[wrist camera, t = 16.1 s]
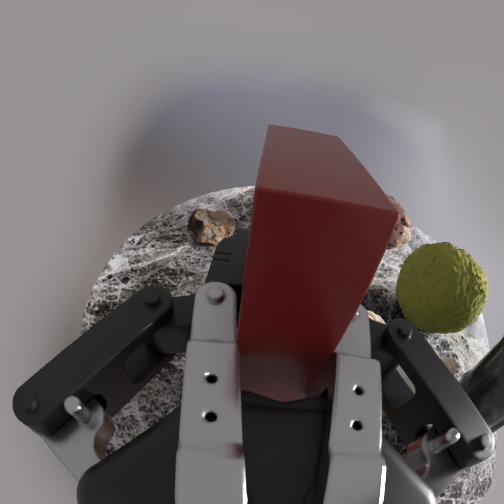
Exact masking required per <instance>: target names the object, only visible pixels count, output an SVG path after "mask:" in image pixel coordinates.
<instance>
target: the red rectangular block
mask: <svg viewBox="0 0 504 504" xmlns="http://www.w3.org/2000/svg"><path fill="white" fill-rule="evenodd" d="M398 218H399V212H398V211H397V210H396V208H395V207H394V205H393V204H392V203H391V201H390V200H389V198H388V197H387V196H386V194H385V193H384V192H383V190H382V189H381V188H380V186H379V185H378V184H377V183H376V181H375V180H374V179H373V177H372V176H371V175H370V174H369V172H368V171H367V170H366V169H365V167H364V166H363V165H362V164H361V163H360V161H359V160H358V159H357V158H356V157H355V155H354V154H353V153H352V152H351V151H350V150H349V148H348V147H347V146H346V145H345V144H344V143H343V142H342V141H341V139H340V138H339V137H336V136H332V135H327V134H322V133H317V132H312V131H307V130H300V129H295V128H289V127H283V126H276V125H268V129H267V133H266V138H265V143H264V148H263V153H262V157H261V162H260V167H259V172H258V176H257V182H256V186H255V191H254V199H253V207H252V215H251V223H250V231H249V239H248V247H247V255H246V263H245V271H244V279H243V288H242V296H241V304H240V312H239V321H238V329H237V337H236V342H239V360H240V390H245V391H251V392H253V393H256V394H259V395H262V396H265V397H268V398H271V399H274V400H277V401H281V402H287V401H293V400H299V399H304V398H305V397H306V394H307V392H308V391H309V389H310V388H311V386H313V385H314V384H315V382H316V381H317V379H318V377H319V376H320V374H321V373H322V371H323V369H324V366H325V364H326V362H327V360H328V359H329V357H330V355H331V354H332V352H334V351H335V350H336V348H337V346H338V345H339V343H340V341H341V339H342V337H343V336H344V334H345V332H346V330H347V328H348V327H349V325H350V323H351V321H352V319H353V317H354V315H355V313H356V312H357V310H358V308H359V306H360V304H361V302H362V300H363V298H364V296H365V294H366V292H367V290H368V288H369V286H370V283H371V281H372V279H373V277H374V275H375V273H376V271H377V268H378V266H379V264H380V262H381V260H382V257H383V255H384V253H385V250H386V248H387V246H388V243H389V241H390V238H391V236H392V234H393V231H394V229H395V226H396V224H397V221H398Z"/></svg>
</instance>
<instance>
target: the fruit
mask: <svg viewBox="0 0 504 504" xmlns="http://www.w3.org/2000/svg"><path fill="white" fill-rule="evenodd" d="M395 290H396V295H397V300H398V302H399V307H401V311H402V313H403V315H404V317H405V319H407V320H408V321H409V322H411V323H412V324H413V325H414V326H415V327H416V328H417V329H421V330H423V331H425V332H430V333H432V332H435V333H444V334H445V333H452V332H454V333H455V332H459V331H462V330H463V329H464V328H466V327H468V326H470V325H472V324H473V322H475V321H476V320H477V318H478V316H479V315H480V313H481V312H482V310H483V308H484V304H485V302H486V299H487V292H488V283H487V278H486V275H484V272H483V271H482V269H481V268H480V267H479V265H478V264H477V263H476V261H475V260H474V259H473V258H472V257H471V256H470V255H469V254H468V253H466V252H465V251H464V250H463V249H456V247H455V246H454V245H452V244H450V243H448V242H442V243H434V244H425V245H421V246H420V248H419V249H417V250H415V251H414V252H413V253H412V254H411V255H410V256H408V257H407V258H406V260H405V262H404V264H403V266H402V267H401V271H400V274H399V276H398V279H397V285H396V289H395Z"/></svg>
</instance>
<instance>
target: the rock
mask: <svg viewBox="0 0 504 504" xmlns="http://www.w3.org/2000/svg"><path fill="white" fill-rule="evenodd" d="M194 210H195V211H194V213H193V214H192V215H191V217H190V218H189V221H188V225H187V231H188V232H189V233H192V234H193V236H194V238H195V239H196V240H197V241H198V242H199V243H207V244H213V245H214V246H217V244H218V243H219V242H220V241H221V240H222V239H224V238H229V237H231V236H232V235H233V233H234V232H235V231H236V226H237V223H236V222H235V221H234V220H233V218H231V217H230V215H229V214H227V213H226V212H224V211H216V212H212V211H204V210H203V209H194Z"/></svg>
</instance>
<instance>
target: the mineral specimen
mask: <svg viewBox="0 0 504 504" xmlns="http://www.w3.org/2000/svg"><path fill="white" fill-rule="evenodd" d="M386 196H387V197H388V198H389V200H390V201H391V203H392V204H393V205H394V207H395V208H396V210H397V211H398V212H399V218H398V221H397V224H396V226H395V229H394V231H393V234H392V236H391V238H390V241H389V243H388V246H387V248H386V249H391V248H396V247H399V246H400V245H401V244H406V243H408V242H409V241H410V240H411V230H410V228H411V227H412V225H411V222H410V221H409V219H408V218H407V217H406V214H405V212H404V210H403V207H402V206H401V205H400V204H399V203H398V202H397V201H396V200H395V199H394V198H393V197H391V196H389V195H387V194H386Z"/></svg>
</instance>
